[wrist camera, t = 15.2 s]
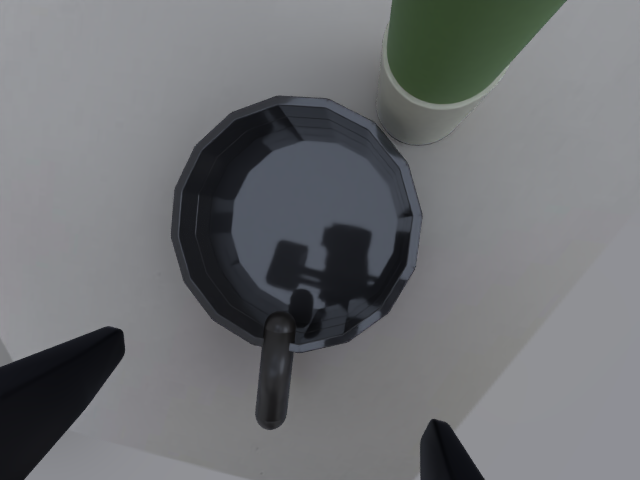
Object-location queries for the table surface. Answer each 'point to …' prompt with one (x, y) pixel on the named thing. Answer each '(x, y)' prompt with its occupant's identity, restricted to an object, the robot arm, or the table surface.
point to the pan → (296, 221)
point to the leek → (449, 60)
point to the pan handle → (275, 370)
